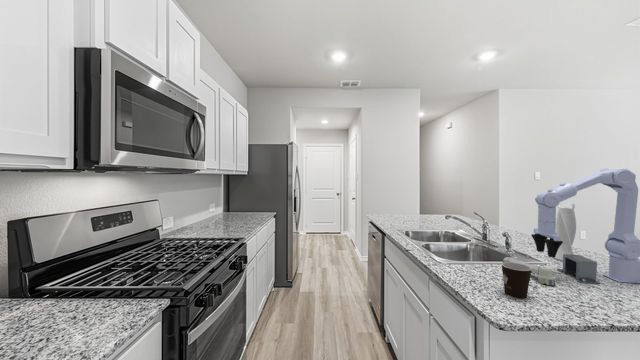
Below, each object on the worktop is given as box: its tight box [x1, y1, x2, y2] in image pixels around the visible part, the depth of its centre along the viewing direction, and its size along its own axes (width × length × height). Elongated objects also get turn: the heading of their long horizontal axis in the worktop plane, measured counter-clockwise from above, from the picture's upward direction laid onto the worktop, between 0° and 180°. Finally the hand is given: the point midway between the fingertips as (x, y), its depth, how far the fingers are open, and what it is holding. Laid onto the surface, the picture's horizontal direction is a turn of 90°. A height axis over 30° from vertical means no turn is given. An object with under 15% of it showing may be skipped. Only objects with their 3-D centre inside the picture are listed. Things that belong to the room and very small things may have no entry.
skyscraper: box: [551, 202, 577, 263], centre depth 137 cm, size 8×8×28 cm
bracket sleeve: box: [557, 254, 601, 285], centre depth 117 cm, size 6×14×8 cm, turn 170°
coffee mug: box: [501, 262, 532, 300], centre depth 101 cm, size 12×9×10 cm
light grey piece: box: [502, 256, 557, 286], centre depth 120 cm, size 5×7×25 cm
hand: (545, 254), depth 118 cm, fingers open, 7 cm apart
